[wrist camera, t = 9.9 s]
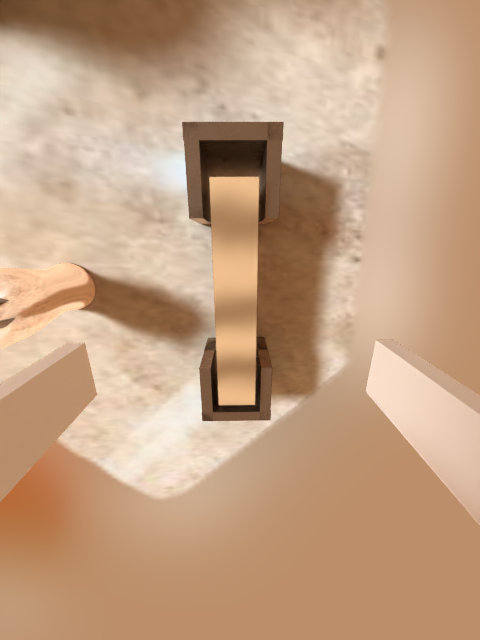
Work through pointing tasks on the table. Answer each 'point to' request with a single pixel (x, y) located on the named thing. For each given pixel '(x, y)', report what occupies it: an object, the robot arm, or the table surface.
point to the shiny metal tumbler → (39, 298)
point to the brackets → (201, 163)
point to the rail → (235, 285)
